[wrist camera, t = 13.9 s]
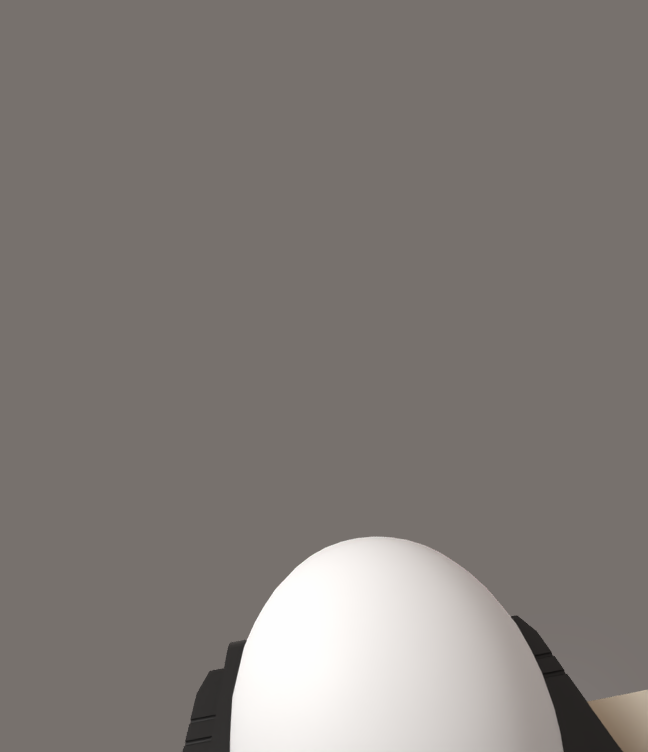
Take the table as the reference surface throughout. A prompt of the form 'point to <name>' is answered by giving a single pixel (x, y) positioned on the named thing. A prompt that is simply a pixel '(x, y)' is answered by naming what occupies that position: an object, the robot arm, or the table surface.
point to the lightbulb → (388, 661)
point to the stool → (625, 719)
